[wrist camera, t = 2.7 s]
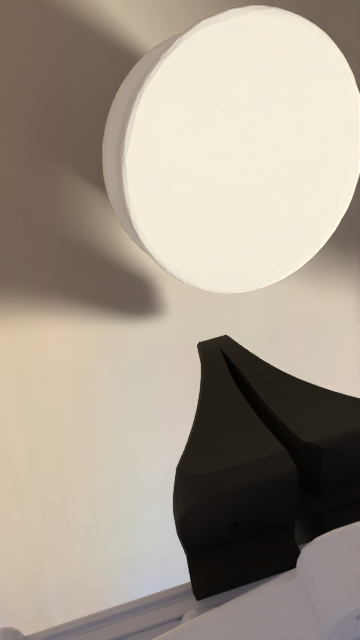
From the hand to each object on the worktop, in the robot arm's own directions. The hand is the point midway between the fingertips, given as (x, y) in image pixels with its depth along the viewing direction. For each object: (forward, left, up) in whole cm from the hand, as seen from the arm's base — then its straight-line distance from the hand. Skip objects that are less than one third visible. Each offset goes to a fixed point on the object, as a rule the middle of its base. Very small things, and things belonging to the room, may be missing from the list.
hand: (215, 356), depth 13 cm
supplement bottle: (+7, 0, -3) cm, 8 cm away
